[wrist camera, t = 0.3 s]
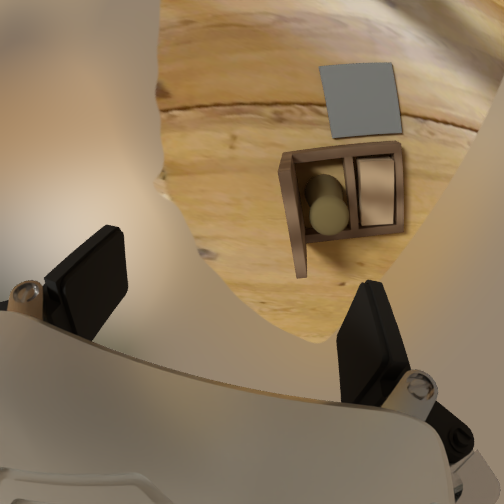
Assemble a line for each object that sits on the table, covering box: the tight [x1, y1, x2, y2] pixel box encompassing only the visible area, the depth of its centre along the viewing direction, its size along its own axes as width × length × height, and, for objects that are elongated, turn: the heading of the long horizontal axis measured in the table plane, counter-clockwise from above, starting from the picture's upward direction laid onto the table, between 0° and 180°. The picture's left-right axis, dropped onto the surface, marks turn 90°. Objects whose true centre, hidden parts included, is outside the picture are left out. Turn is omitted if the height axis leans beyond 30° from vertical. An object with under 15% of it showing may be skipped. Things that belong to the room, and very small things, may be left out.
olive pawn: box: [305, 174, 349, 236], centre depth 39 cm, size 6×6×11 cm
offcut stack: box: [356, 156, 394, 226], centre depth 41 cm, size 10×5×4 cm, turn 9°
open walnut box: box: [278, 141, 404, 278], centre depth 38 cm, size 14×18×12 cm
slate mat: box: [319, 63, 402, 138], centre depth 35 cm, size 11×11×1 cm
